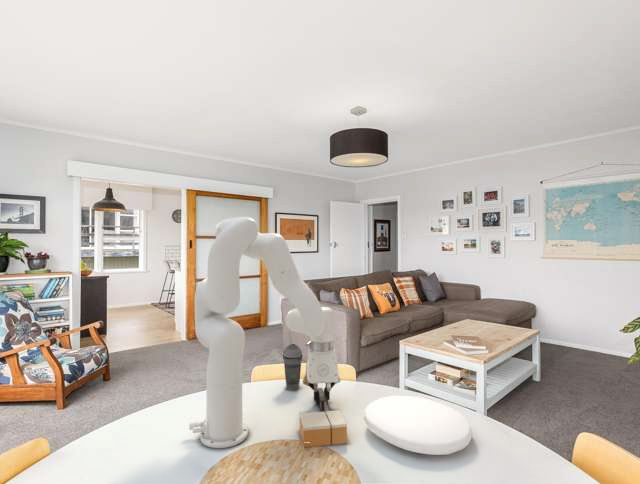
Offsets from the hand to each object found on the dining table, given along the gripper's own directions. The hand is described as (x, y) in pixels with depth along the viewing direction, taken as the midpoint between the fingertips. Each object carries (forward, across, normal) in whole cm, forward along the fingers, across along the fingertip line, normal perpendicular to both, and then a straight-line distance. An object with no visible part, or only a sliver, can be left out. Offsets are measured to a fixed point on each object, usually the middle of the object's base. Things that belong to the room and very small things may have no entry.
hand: (321, 402), depth 120 cm
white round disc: (+1, +22, -22) cm, 32 cm away
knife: (0, 0, -4) cm, 5 cm away
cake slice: (+1, 0, -20) cm, 20 cm away
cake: (+1, -6, -20) cm, 21 cm away
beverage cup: (+1, -8, +15) cm, 17 cm away
